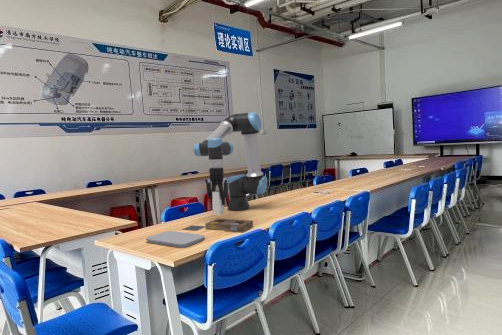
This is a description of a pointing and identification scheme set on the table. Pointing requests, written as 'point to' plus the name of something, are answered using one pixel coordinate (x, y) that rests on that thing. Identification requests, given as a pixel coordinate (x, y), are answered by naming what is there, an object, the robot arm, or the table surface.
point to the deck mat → (193, 228)
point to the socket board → (229, 225)
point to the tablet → (175, 239)
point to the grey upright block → (216, 203)
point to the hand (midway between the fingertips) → (218, 210)
